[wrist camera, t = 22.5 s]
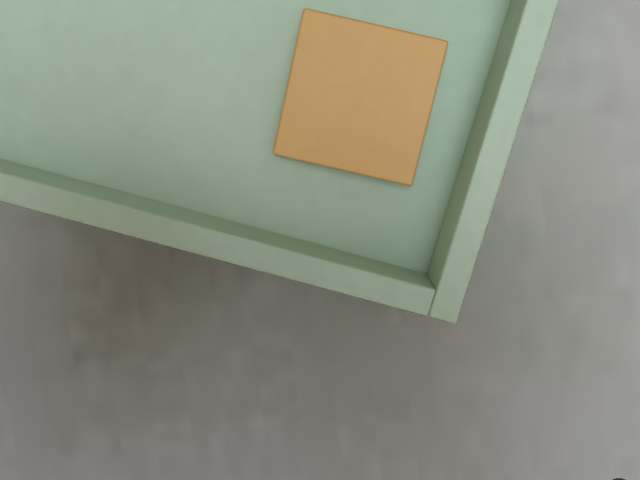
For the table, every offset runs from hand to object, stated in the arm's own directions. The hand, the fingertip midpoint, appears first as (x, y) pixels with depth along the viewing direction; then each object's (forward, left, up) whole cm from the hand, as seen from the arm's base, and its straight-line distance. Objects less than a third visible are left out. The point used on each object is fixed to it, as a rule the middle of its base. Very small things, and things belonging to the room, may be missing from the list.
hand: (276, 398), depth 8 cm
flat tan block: (+4, +3, -10) cm, 11 cm away
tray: (0, +7, -11) cm, 13 cm away
